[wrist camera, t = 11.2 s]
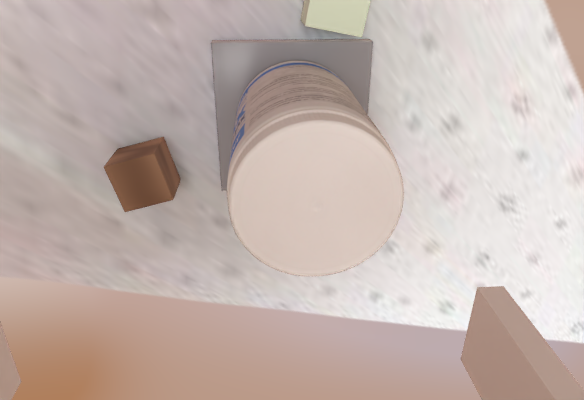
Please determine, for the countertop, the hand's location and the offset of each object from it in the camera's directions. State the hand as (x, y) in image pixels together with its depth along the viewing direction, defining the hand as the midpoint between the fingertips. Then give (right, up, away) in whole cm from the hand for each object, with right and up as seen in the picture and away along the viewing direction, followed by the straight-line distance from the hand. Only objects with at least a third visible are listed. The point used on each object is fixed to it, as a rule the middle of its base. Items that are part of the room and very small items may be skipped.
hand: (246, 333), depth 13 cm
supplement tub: (+2, +10, +24) cm, 26 cm away
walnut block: (-11, +7, +26) cm, 29 cm away
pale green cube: (+4, +19, +21) cm, 29 cm away
